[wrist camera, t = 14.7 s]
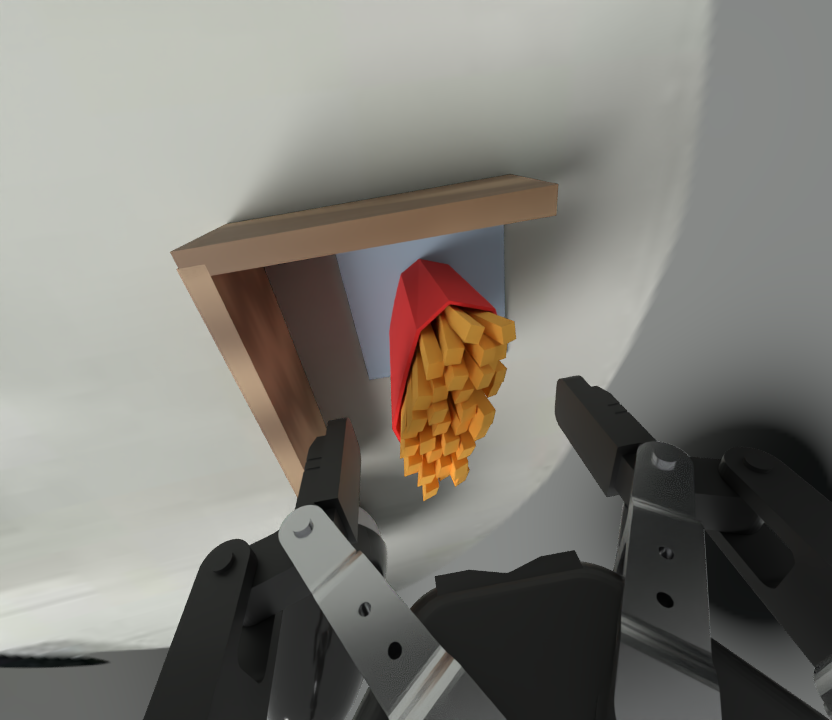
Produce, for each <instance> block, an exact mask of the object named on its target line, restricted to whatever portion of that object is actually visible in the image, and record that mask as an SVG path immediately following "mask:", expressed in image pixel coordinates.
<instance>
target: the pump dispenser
mask: <svg viewBox="0 0 832 720" xmlns="http://www.w3.org/2000/svg"><path fill="white" fill-rule="evenodd" d="M351 545H352V546H353V547H354V549H355V550H356V551H358V550H360V551H361V552H362V553H363V554H364V555H365V556H366V557H367V558H368V560H369V561H370V562H371V563H372V564H373V566H374V567H375V568H376V569H377V570H378V572H379V573H380V574H381V575H382V576H383V578H384V579H385V580H386V571H387V548H386V545H385V542H384V541H383V539H382V537H381V534H380V531H379V528H378V526H377V524H376V523H375V521H374V520H373V518H372V517H371V516H370V515H369V514H368V513H367V512H366V511H365V510H364V509H362V508H361V507H359V515H358V535H357V543H352V544H351ZM363 679H364V678H363V676H362V674H361V673H360V671H359V670H358V668H357V666H356V665H355V663H354V661H353V660H352V658H351V657H350V655H349V653H348V652H347V650H346V649H345V647H344V645H343V644H342V642H341V640H340V639H339V637H338V636H337V634H336V632H335V631H334V629H333V628H332V626H331V624H330V623H329V621H328V619H327V618H326V616H325V615H324V613H323V611H322V610H321V608H320V606H319V605H318V603H317V602H316V600H315V598H314V597H313V595H312V594H310V595H308V596H306V597H305V598H303V599H301V600H299V601H298V602H296V603H294V604H292V605H290V606H289V607H287V608H285V609H283V615H282V622H281V628H280V635H279V641H278V648H277V655H276V661H275V668H274V674H273V681H272V687H271V694H270V701H269V707H268V714H267V717H268V720H346V718H347V716H348V715H349V713H350V710H351V708H352V706H353V704H354V702H355V700H356V698H357V695H358V693H359V690H360V688H361V685H362V682H363Z"/></svg>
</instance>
